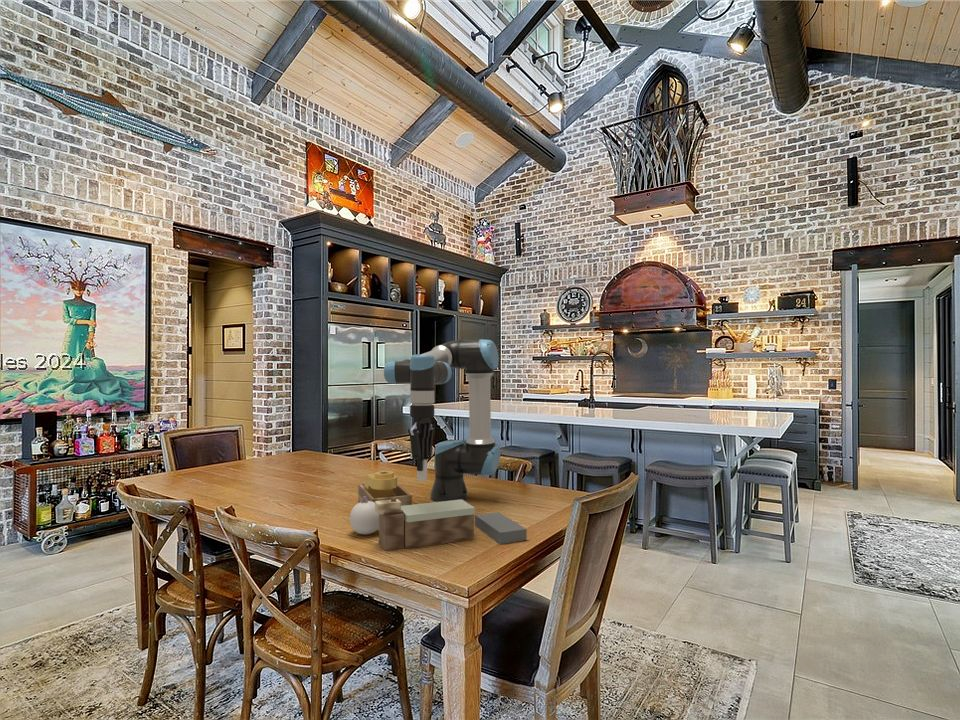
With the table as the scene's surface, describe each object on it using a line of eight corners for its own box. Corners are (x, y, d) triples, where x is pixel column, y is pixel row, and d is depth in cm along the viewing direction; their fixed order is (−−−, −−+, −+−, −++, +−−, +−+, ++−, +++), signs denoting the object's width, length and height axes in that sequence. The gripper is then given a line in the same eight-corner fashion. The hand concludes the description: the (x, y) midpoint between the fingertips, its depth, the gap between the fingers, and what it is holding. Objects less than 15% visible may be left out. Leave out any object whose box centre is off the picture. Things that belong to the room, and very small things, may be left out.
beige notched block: (397, 508, 157) (397, 495, 157) (401, 512, 153) (401, 498, 153) (374, 511, 154) (375, 497, 154) (377, 514, 150) (377, 501, 150)
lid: (461, 505, 169) (461, 499, 169) (474, 514, 159) (474, 507, 159) (397, 512, 160) (397, 506, 160) (406, 522, 150) (407, 515, 150)
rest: (498, 522, 177) (498, 512, 177) (526, 540, 158) (526, 529, 158) (474, 525, 173) (474, 515, 173) (500, 544, 155) (500, 532, 155)
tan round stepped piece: (400, 519, 180) (400, 474, 180) (374, 523, 176) (374, 476, 176) (385, 505, 198) (385, 464, 198) (361, 508, 194) (361, 466, 194)
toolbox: (463, 530, 168) (463, 497, 168) (474, 539, 160) (474, 504, 160) (378, 541, 157) (378, 506, 157) (385, 551, 149) (385, 514, 149)
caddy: (394, 503, 200) (394, 480, 200) (411, 521, 177) (411, 495, 178) (358, 507, 195) (358, 483, 195) (371, 526, 172) (371, 499, 172)
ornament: (352, 540, 158) (352, 501, 158) (347, 530, 167) (347, 494, 168) (385, 536, 162) (385, 498, 162) (378, 527, 171) (378, 491, 172)
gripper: (422, 402, 166) (422, 475, 165) (400, 405, 154) (399, 483, 153) (443, 403, 163) (442, 477, 162) (421, 406, 151) (421, 486, 150)
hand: (421, 480), depth 158 cm, fingers closed
